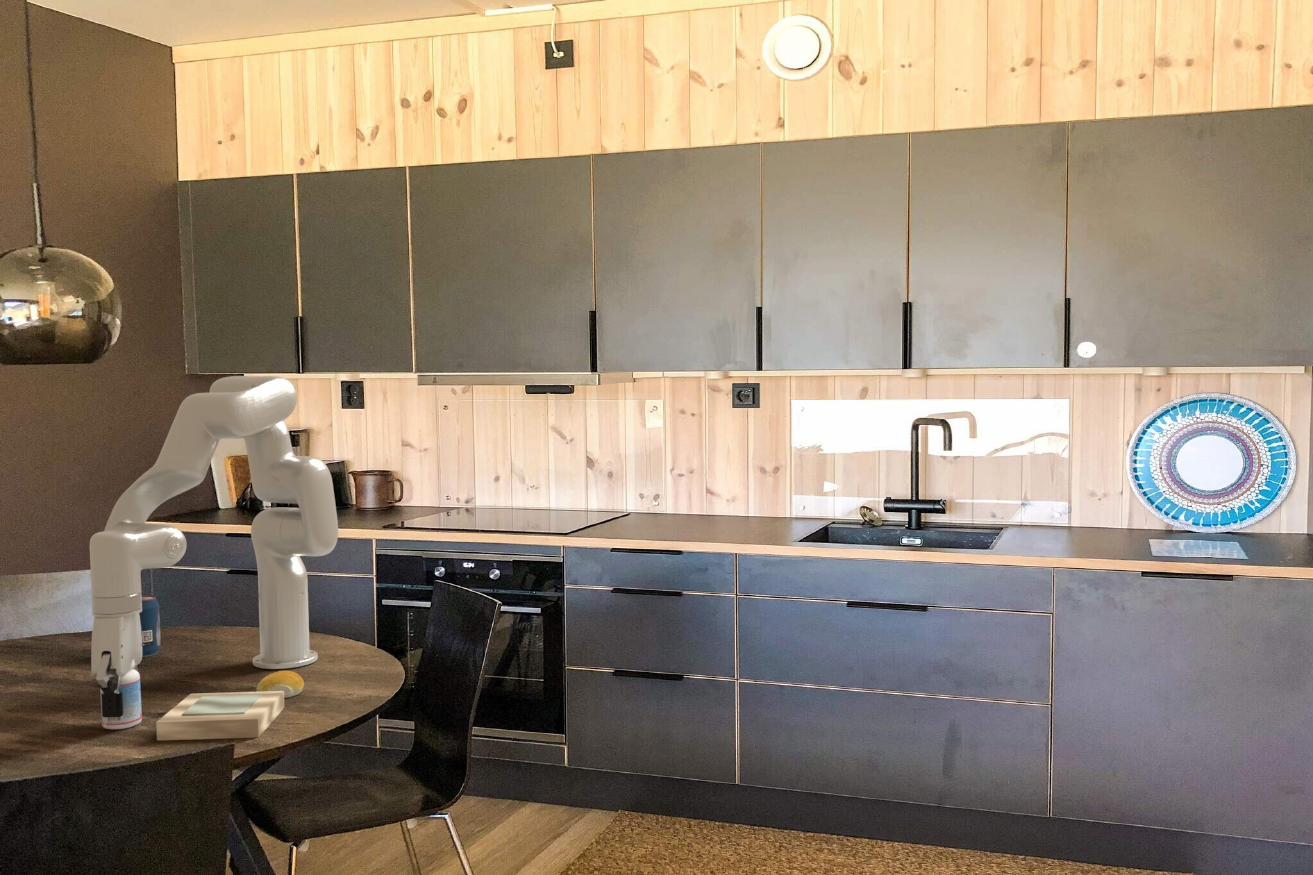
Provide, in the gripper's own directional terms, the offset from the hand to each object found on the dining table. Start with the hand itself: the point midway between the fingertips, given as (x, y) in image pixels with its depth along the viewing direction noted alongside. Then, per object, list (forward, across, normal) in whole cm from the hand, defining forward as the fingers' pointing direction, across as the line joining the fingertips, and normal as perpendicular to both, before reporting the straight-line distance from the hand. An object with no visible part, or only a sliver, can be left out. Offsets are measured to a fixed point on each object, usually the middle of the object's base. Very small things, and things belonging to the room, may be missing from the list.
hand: (121, 709), depth 188 cm
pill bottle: (+3, 0, 0) cm, 3 cm away
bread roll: (+3, -17, +22) cm, 28 cm away
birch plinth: (+3, +1, +17) cm, 17 cm away
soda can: (+3, -49, -15) cm, 51 cm away
